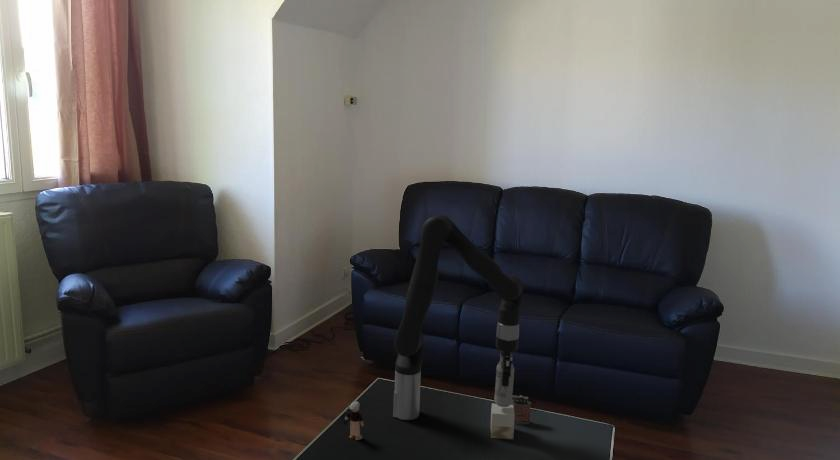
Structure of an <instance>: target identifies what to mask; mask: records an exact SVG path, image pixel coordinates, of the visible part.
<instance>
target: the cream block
mask: <svg viewBox="0 0 840 460" xmlns="http://www.w3.org/2000/svg"><path fill="white" fill-rule="evenodd" d="M490 408H491V411H490V424H491V423H492V426H502V427H514V428H515V424H514V417H515V414H514V407H513V405H510V406H508V407H501V406H498V405H497V404H496V403H491V407H490Z"/></svg>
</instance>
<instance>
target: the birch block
mask: <svg viewBox="0 0 840 460" xmlns="http://www.w3.org/2000/svg"><path fill="white" fill-rule="evenodd" d="M514 433H515V426H514V427H502V426H492V423H491V422H490V438H491V439H492V438H493V439H505V440H514V435H515V434H514Z"/></svg>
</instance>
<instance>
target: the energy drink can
mask: <svg viewBox="0 0 840 460" xmlns="http://www.w3.org/2000/svg"><path fill="white" fill-rule="evenodd" d="M505 372H506V373H508V371H505ZM495 374H496V375H495V384H494V385H495V387H494V399H493V400H494V402H495V404H497V405H498V406H501V407H508V406H510V404H511V403H512V395H513V391H514V379H515V367H514V363H513V361H512V367H511V376H510V377H509V386H508V387H505V386H502V368H501V361H500V360H499V361H498V363H497V365H496V371H495ZM513 396H514V395H513Z"/></svg>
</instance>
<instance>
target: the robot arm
mask: <svg viewBox="0 0 840 460" xmlns="http://www.w3.org/2000/svg"><path fill="white" fill-rule="evenodd" d="M444 244H446V245H447V246H449V247H451V248H452V249H453V250H454V251H455V252H456V254H458V255H459V256H460V258H462V260H463V262H465V264H466V265H467V266H468V267H469V268H470V269H471V271H473V272H474V273H475V274H476V275H477V276H478V277H480V278H481V279H482V280H484V281H486V283H487V284H488V285H489V287H490V288H491V289H492V290H493V292H494V293H495V294H496V295H498V297H499V298H501V303H500V306H499V308H498V317H497V324H496V325H497V326H496V336H495V348H496V350H498V351H500V353H499V361H501V368H502V386H505V387H508V386H509V377H510V376H511V367H512V362H513V353H515V352H517V351H518V350H519V341H520V340H519V338H520V337H519V336H520V309H521V303H522V298H523V291H524V289H523V288H524V286H523V285H524V284H523V282H522V281H521V279H520V278H519V277H518V276H515V275H510V276H507V275H506V274H505V273H504V272H503V271H502V267H501V266H500V265H499V263H498V262H496V261H495V260H494V259H492V258H491V257H490V256H489V255H487V254H486V253H485V252H484V251H482V250H481V249H480V248H479V247H477V246H476V244H474V242H472V241H471V240H470V239H469V238H468V237H467V236H466V235H465V234H464V233H463V232H462V231H461V230H460V228H458V226H457V225H456V223H454V222H453V221H452V220H451V219H450V217H448V216H447V215H444V214H436V215H433V216H431V217H429V218H428V219H426V221H424V223H423V226H422V229H421V235H420V243H419V249H418V254H417V258H416V261H415V264H414V267H413V271H412V274H411V278H410V281H409V284H408V289H407V294H406V298H405V303H404V309H403V315H402V318H401V321H400V324H399V327H398V330H397V332H396V335H395V337H394V341H393V344H394V349H395V351H396V353H397V356H396V357H397V358H396V361H395V366H394V367H395V369H394V370H395V371H394V391H393V404H392V406H393V408H392V410H393V412H392V413H393V414H392V417H393V418H397V419H399V420H404V421H412V420H415V419H418V418H419V416H420V405H421V404H420V403H421V400H420V399H421V376H422V375H421V374H422V373H421V372H422V364H423V359H424V358H423V357H424V342H425V341H424V334H423V331H422V327H423V323H424V320H425V319H426V316H427V313H428V312H429V309H430V307H431V304H432V302H433V299H434V295H435V293H436V289H437V285H438V280H439V279H438V278H439V258H440V256H441V253H442V249H443V246H444ZM505 371H508V373H506V372H505Z"/></svg>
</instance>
